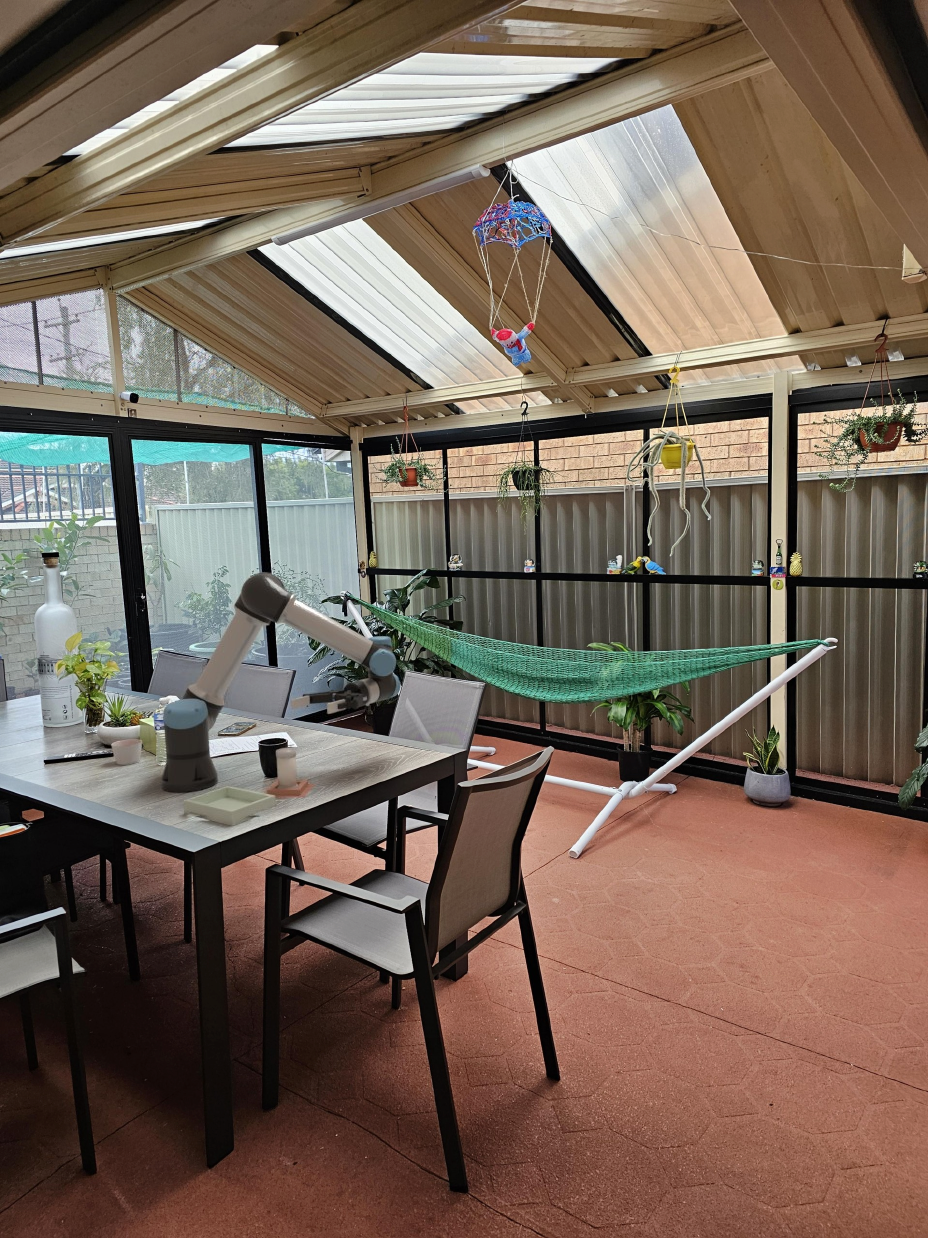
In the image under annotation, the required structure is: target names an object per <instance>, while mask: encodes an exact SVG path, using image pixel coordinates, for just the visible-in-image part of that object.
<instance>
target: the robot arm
mask: <svg viewBox="0 0 928 1238" xmlns="http://www.w3.org/2000/svg"><path fill="white" fill-rule="evenodd" d="M240 591H241V592H240V594H239V596H238V598H237V599H236V601H235V603H234V605H233V607H234V611H235V612H234V613H235V614H234V615H233V617H232V619H231V621H230V622H229V625H228V626H227V628H226V629H225V631H224V633H223V635H222V637H221V638H220V640H219V642H218V644H217V646H216V648H215V649H214V651H213V653H212V654H211V656H210V658H209V660H208V662H207V664H206V666H205V667H204V669H203V670H202V673H201V675H200V676H199V678H198V679H197V681H196V682H195V683H193V684H190V685H188V686H187V689H186V691H185V693H184V694H183V695H182V697H181V699H176V700H174V701H171V702H170V703H167V704H166V705H165V707H164V709H163V716H162V720H163V727H164V728H163V729H164V740H165V741H164V742H165V754H166V756H165V757H166V760H165V765H164V769H163V772H162V777H161V782H160V783H161V789H163V790H164V791H166V792H171V793H172V792H173V793H184V792H186V793H187V792H194V791H200V790H204V789H208V788H210V787H212V786H215V785H217V783H218V782H219V776H218V771H217V769H216V767H215V764H214V762H213V760H212V757H211V755H210V754H211V752H210V751H211V750H210V735H209V733H210V730H211V729H212V728H213V727H214V725H215V723H216V721H217V718H218V717H219V715H220V713H221V711H222V709H223V708H224V706H225V704H226V703H225V700H224V696H225V693H226V691H227V690H228V688H229V686H230V684H231V683H232V681H233V679H234V677H235V675H236V674H237V672H238V670H239V668H240V666H241V664H243V661H244V659H245V657H246V656H247V654H248V652H249V651H250V649H251V647H252V645H253V644H254V642H255V640H256V638H257V636H258V635H259V633H260V631H261V629H262V628H263V627H265V626H270V624H271V622H273V623H275V624H285V625H286V626H288V627H290V628H292V629H295V630H296V631H298V632H299V633H301V634H303V635H305V636H307V637H309V638H311V639H313V640H315V641H316V642H318V643H320V644H322V645H324V646H326V647H327V648H329V649H332V651H335V652H337V653H339V654H340V655H343V656H344V657H346V658H348V659H350V660H352V661H354V662H356V663H358V664H360V665H361V666H363V667H365V668H367V670H368V678H363V679H360V680H355V681H353V682H351V681H350V682H348V683H347V684H345V686H344V687H343V689H339V690H334V689H332V690H327V691H320V692H311V693H303V694H302V696H300V697H297V698H292V699H290V704H291V707H290V708H291V710H297V709H299V708H300V709H301V708H304V707H307V708H309V706H310V705H313V704H316V705H317V704H325V703H326V709H327V712H326V714H328V715H329V714H330V715H331V714H334V713H337V712H341V711H344V710H346V709H347V710H350V709H351V708H352V709H353V710H357V709H359V708H360V707H363V706H366V707H369V706H370V704H373V703H377V702H381V701H385V700H389V699H391V698H393V697H396V696H397V695H398V694H399V693H400V690H401V688H402V687H401V683H402V682H401V681H400V678H399V676H397V675H396V674H395V673H394V671H395V669H396V664H397V660H396V659H397V658H396V656H395V654H394V653H393V644H392V638H391V637H390V636H387V635H386V636H383V635H382V636H380V635H379V636H378V635H377V636H371V637H368V638H367V637H366V636H363V635H362V634H360V633H359V632H356V631H354V630H353V629H351V628H349V627H347V626H345V625H343V624H342V623H340V622H338V621H336V620H335V619H332V617H329V616H327V615H325V614H323V613H322V612H320V611H318V610H317V609H314V608H312V607H310V606H309V605H307V604H306V603H304V602H302V601H300V600H298V599H297V598H296V595H295V593H292V592H291V591H289V590H288V589H286V588H285V585H284V583H283V581H282V579H280V578H279V577H278V576H276V575H275V574H273V573H271V572H265V571H264V572H262V571H261V572H257V573H255V574H253V575H252V576H250V577H248V578H247V579H246V580H245V581H244V583H243V585H242V586H241V590H240Z"/></svg>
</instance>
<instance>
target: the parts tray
mask: <svg viewBox="0 0 928 1238" xmlns="http://www.w3.org/2000/svg"><path fill="white" fill-rule="evenodd" d="M275 806H277V802H276V798H275V795H270V794H265V793H264V792H258V791H255V790H249V789H245V788H240V787H234V786H230V785H226V786H223V787H219V788H217V789H214V790H211V791H208V792H205V793H201V794H199V795H196V796H194V797H193V796H192V797H190V798H187V799H184V800H183V813H184V815H189V814H191V813H193V814H198V815H193V817H194V818H200V819H203V820H208V821H212V822H216V823H220V824H223V825H224V824H225V825H227V826H237V825H239V824H241V823H244V822H246V821H249V820H252V819H254V818H256V817H259V816H260V815H259V814H257V813H260V812H262V811H265V810H268V809H270V808H272V807H273V808H274V807H275ZM255 814H257V815H255Z"/></svg>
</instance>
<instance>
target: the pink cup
mask: <svg viewBox="0 0 928 1238" xmlns="http://www.w3.org/2000/svg"><path fill="white" fill-rule="evenodd" d="M110 745H111V750H112V753H113V757H114V760H115V763H116V765H118V766H119V765H120V766H129V765H134V764H137V763H139V762H140V761H141V756H142V755H141V754H142V746H143V740H142V739H138V738H137V739H136V738H133V739H130V738H129V739H123V740H117V741H115V742H112V743H111V744H110Z"/></svg>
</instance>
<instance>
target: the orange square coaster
mask: <svg viewBox="0 0 928 1238" xmlns="http://www.w3.org/2000/svg"><path fill="white" fill-rule="evenodd" d="M297 784H298V786H297V787H296V788H278V779H277V780H275V781H274V782H273V783H272V784H271V785H270V786H269V787H268V788H267V789H266V790H265V791H264V792H263V793H265V794H270V795H275V798H280V799H281V798H305V797H306V796H307V794H309V792H310V791H311V790H312V789H313V788H314V787H315V785H316V783H309V779H297Z"/></svg>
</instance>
